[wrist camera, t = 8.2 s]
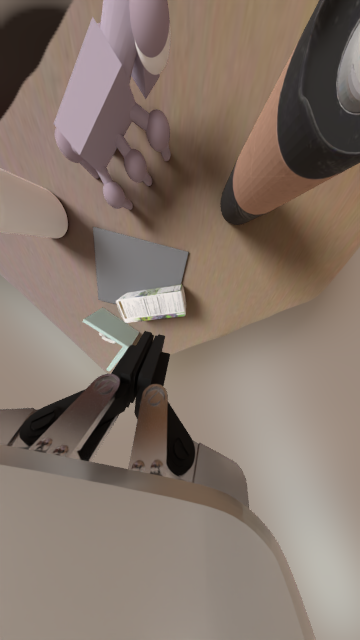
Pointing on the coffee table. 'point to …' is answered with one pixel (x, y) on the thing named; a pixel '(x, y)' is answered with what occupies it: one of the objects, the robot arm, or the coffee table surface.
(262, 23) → the coffee table surface
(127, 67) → the lavender lumpy figurine
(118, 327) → the right angle wall
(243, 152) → the travel mug
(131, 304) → the syrup box
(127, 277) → the mat
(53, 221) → the beverage can
